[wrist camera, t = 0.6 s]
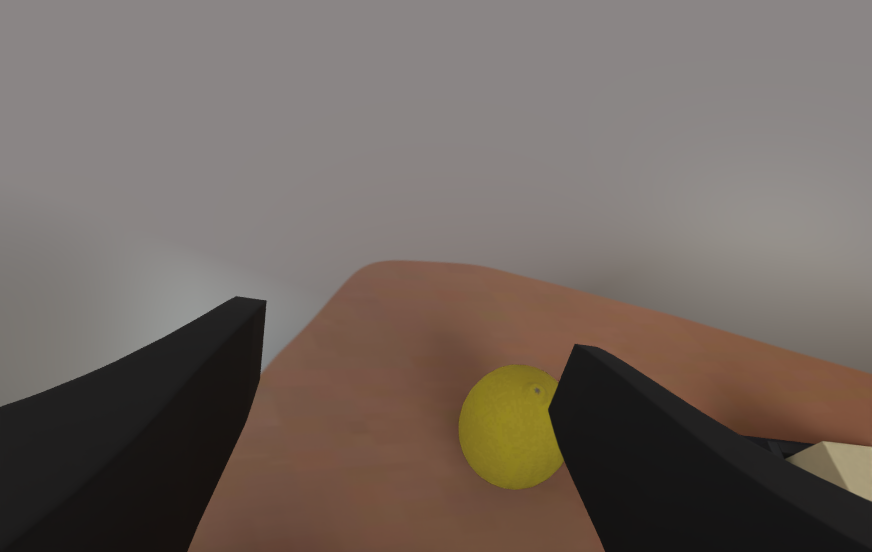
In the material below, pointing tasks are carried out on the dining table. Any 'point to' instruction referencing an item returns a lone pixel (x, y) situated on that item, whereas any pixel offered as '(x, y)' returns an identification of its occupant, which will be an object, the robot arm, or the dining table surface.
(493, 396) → the lemon
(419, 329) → the dining table surface
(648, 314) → the dining table surface
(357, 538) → the dining table surface
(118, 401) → the robot arm
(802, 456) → the cream rectangular block
